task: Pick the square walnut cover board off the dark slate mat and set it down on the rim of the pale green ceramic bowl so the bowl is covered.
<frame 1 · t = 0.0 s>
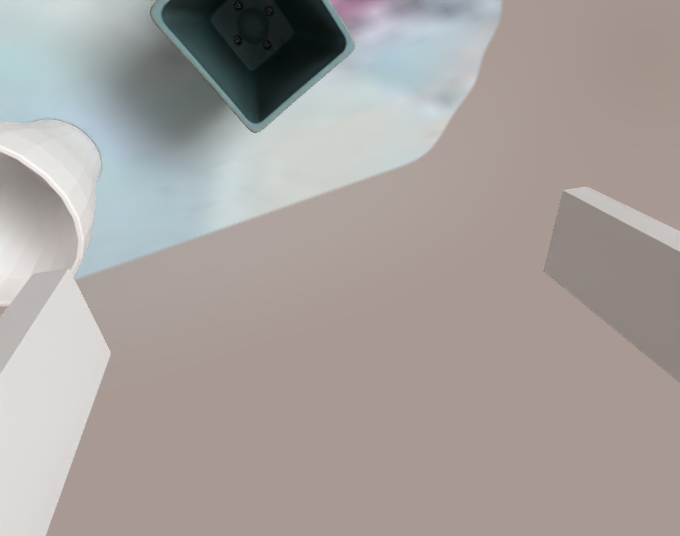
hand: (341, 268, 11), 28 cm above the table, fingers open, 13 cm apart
flower pot: (252, 27, 32), on the table
cup: (60, 156, 33), on the table
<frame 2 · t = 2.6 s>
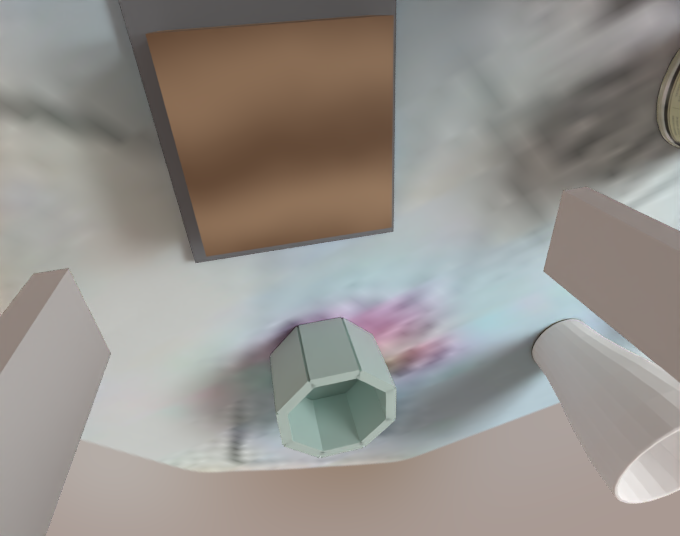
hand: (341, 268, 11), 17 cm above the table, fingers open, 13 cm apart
bowl: (324, 361, 36), on the table
mat: (281, 127, 25), on the table
cover board: (282, 129, 24), point 1 cm above the table, touching mat
cup: (557, 340, 42), on the table
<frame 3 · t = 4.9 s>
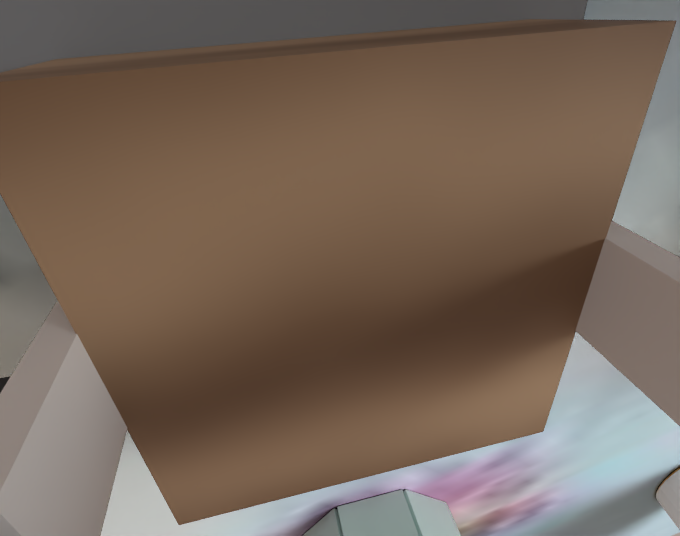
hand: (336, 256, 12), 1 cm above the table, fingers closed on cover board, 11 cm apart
mat: (328, 237, 13), on the table
cover board: (332, 246, 12), point 1 cm above the table, touching gripper, mat
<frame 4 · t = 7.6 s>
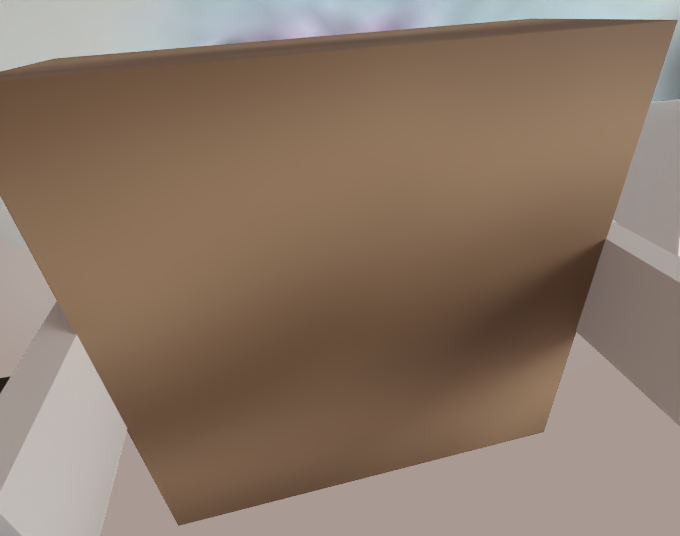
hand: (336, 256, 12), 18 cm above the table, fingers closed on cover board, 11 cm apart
cover board: (332, 246, 12), point 18 cm above the table, touching gripper
cup: (584, 138, 33), on the table
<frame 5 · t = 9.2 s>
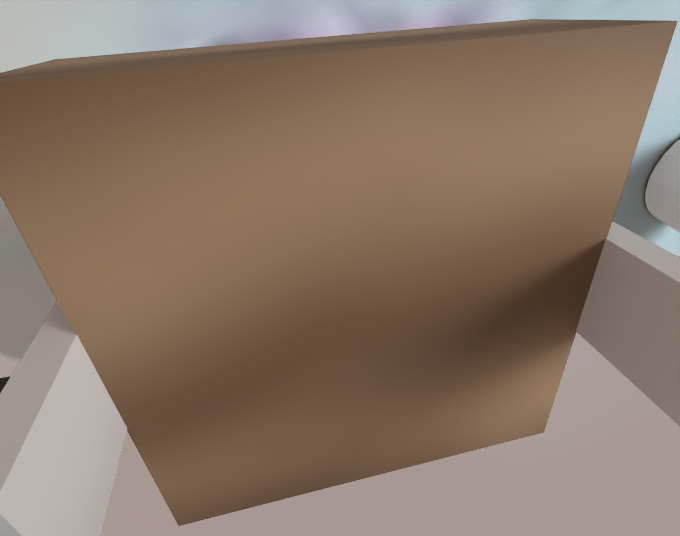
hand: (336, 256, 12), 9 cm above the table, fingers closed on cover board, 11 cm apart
cover board: (332, 246, 12), point 9 cm above the table, touching gripper
when the fingers open (8 cm above the table, at t = 10.5 s): cover board drops 2 cm, resting on bowl.
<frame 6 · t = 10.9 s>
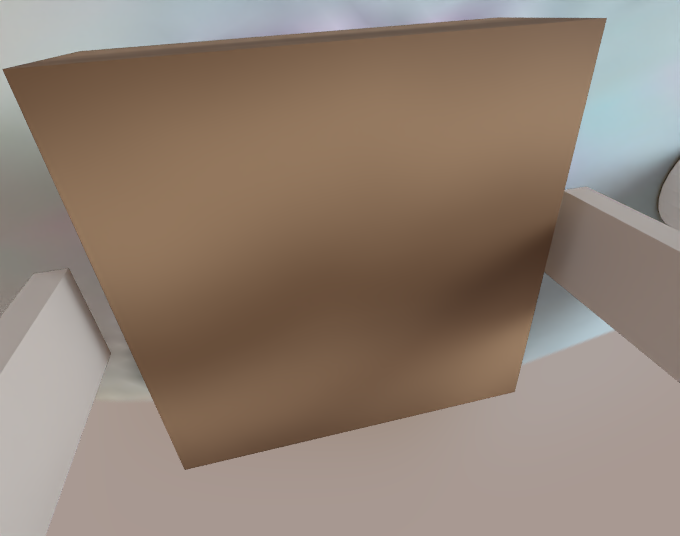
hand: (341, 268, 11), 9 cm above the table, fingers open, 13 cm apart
cover board: (323, 223, 14), point 6 cm above the table, touching bowl
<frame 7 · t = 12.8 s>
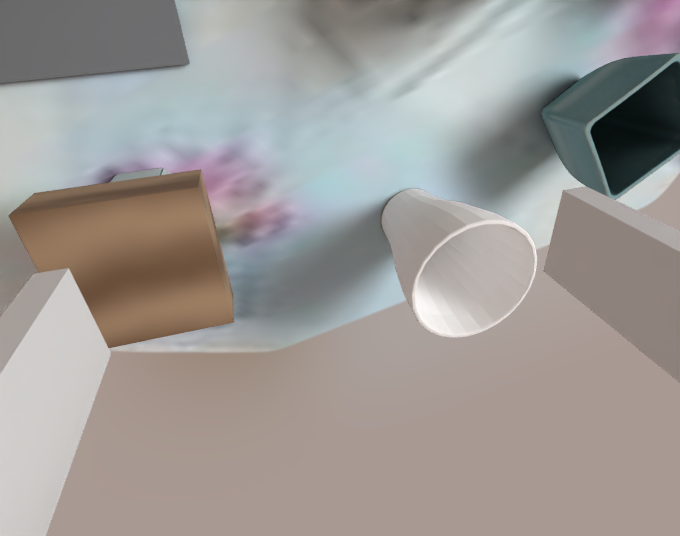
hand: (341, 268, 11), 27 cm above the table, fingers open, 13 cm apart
flower pot: (566, 114, 41), on the table
bowl: (156, 219, 37), on the table
cover board: (145, 249, 31), point 6 cm above the table, touching bowl
cup: (407, 215, 43), on the table
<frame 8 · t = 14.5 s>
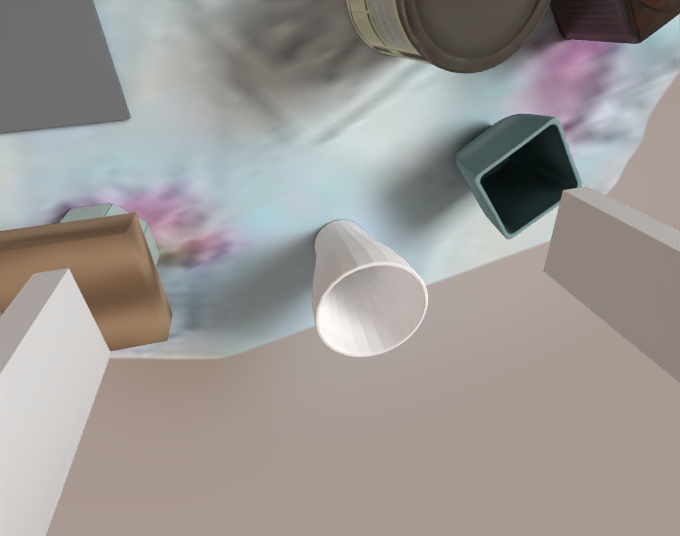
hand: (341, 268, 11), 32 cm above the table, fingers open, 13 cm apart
flower pot: (481, 155, 46), on the table
bowl: (108, 246, 42), on the table
cover board: (91, 277, 37), point 6 cm above the table, touching bowl
cup: (339, 242, 48), on the table
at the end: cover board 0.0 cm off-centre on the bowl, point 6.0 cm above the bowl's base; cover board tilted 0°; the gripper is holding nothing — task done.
